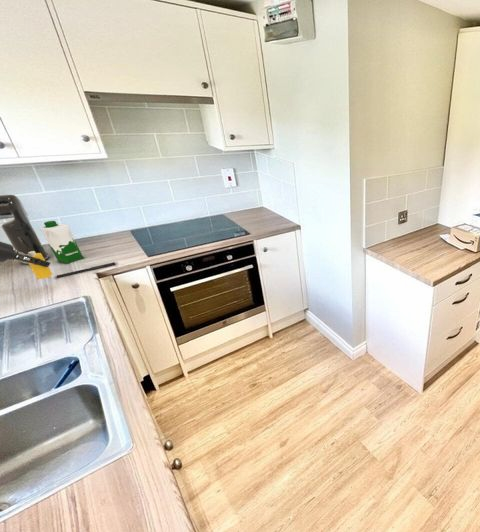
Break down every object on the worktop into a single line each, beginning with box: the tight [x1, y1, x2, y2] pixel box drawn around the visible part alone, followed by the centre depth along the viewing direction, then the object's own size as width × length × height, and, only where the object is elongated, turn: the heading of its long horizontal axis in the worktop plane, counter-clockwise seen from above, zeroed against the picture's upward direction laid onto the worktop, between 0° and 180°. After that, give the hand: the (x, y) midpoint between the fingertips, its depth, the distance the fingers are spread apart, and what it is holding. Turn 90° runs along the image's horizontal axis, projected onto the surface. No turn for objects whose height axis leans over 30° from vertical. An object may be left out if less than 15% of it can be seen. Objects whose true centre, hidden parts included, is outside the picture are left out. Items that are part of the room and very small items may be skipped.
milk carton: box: [39, 220, 84, 264], centre depth 160 cm, size 9×9×20 cm
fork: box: [56, 261, 116, 279], centre depth 155 cm, size 3×21×1 cm, turn 133°
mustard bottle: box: [28, 251, 53, 280], centre depth 135 cm, size 5×5×12 cm
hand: (44, 263), depth 137 cm, fingers closed on mustard bottle, 4 cm apart
